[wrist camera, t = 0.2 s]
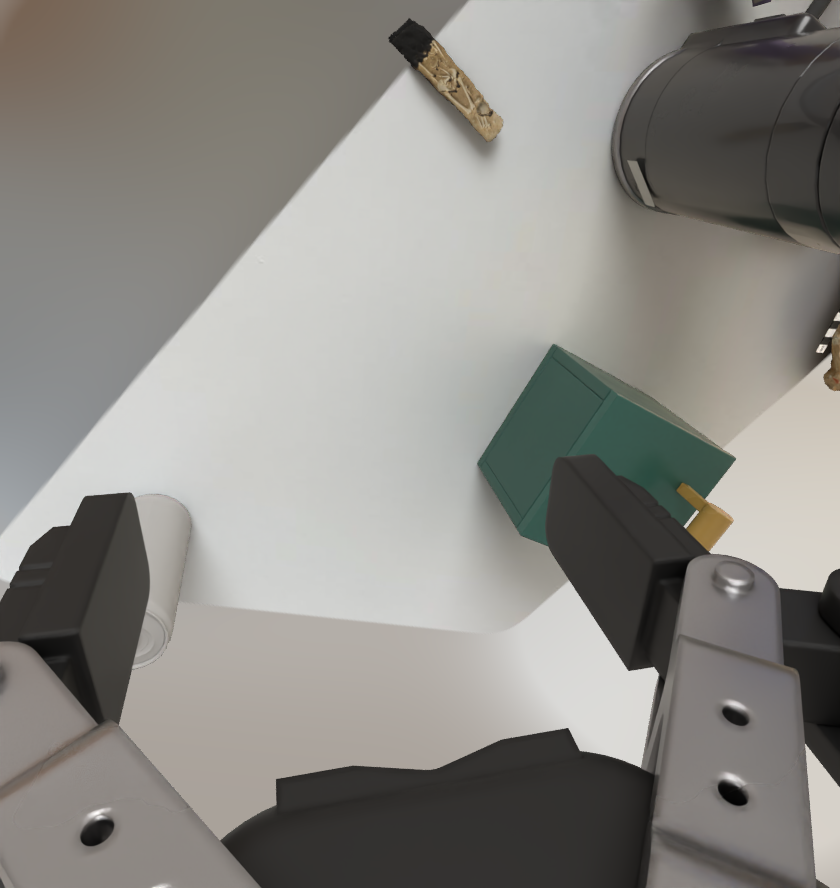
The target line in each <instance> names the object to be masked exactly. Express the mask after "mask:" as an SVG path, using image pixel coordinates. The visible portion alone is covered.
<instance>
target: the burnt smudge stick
mask: <svg viewBox="0 0 840 888" xmlns="http://www.w3.org/2000/svg"><path fill="white" fill-rule="evenodd" d="M388 39H389V42H390V43H392V44H393V45H394V46H395V47H396V49H398V51H399V52H400V53H401V54H404V58H405V59H407V61H408V62H410V63H411V66H412V67H413V68H414V69H415V70H419V71H420V72H421V73H422V74H423V75H424V76H425V77H426V79H427V80H429V82H430V83H431V84H432V85H433V86H434V87H435V88H436V90H437V91H438V92H439V93H440V94H441V95H443V96H444V97H445V98H446V99H447V100H448V101H450V102H451V103H452V104H453V105H455V106H456V108H457V110H459V111H460V112H462V113H463V114H464V116H465V118H466V119H468V120H469V122H470V123H471V125H472V126H473V127H474V128H475V130H476V131H478V132H479V133H480V134H481V136H483V137H484V139H485V140H486V142H491V141H492V140H493V139H494V138H495V137H496V135H497V134H498V133H499V132H500V130H501V128H502V126H503V124H502V122H503V120H502V118H501V117H500V116H498V115H497V114H496V112H494V111H493V110H492V109H490V108H489V105H488V103H487V102H486V101H485V100H484V99H483V95H481V93H480V92H479V91H478V90H477V89H476V88H475V86H474V84H473V83H472V82H471V80H470V79H469V78H468V77H467V76H466V75H465V74H464V72H463V71H462V70H461V69H459V68H458V67H457V66H456V65H455V63H454V62H453V60H452V59H451V58H450V57H449V56H448V55H447V53H446V51H445V50H444V48H443V47H442V46H441V45H440V44H439V43H438V42H437V41H436V40H435V39H434V38H433V37H432V36H431V34H430V33H429V32H428V31H427V30H426V29H425V28H424V27H423V26H421V25H418V24H417V23H416V22H415V21H412V20H411V19H410V18H409V19H408V20H407V21H406V22H405V23H404V24H403V25H402V26H401V27H400V28H398V30H397V31H395V32H393V34H391V35H390V37H389V38H388Z"/></svg>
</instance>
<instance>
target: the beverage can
mask: <svg viewBox="0 0 840 888" xmlns="http://www.w3.org/2000/svg"><path fill="white" fill-rule="evenodd" d="M134 499H135V502H136V506H137V510H138V515H139V520H140V525H141V529H142V534H143V539H144V544H145V549H146V553H147V558H148V563H149V571H150V593H149V599H148V603H147V608H146V612H145V616H144V620H143V625H142V629H141V633H140V637H139V641H138V646H137V650H136V654H135V658H134V663H133V667H132V670H134V669H138V668H141V667H145V666H147V665H149V664H151V663H153V662H154V661H156V660H157V659H158V658H159V657H160V656H162V654H163V653H164V651H165V649H166V648H167V644H168V643H169V641H170V639H171V635H172V632H173V627H174V622H175V616H176V610H177V605H178V599H179V594H180V588H181V582H182V577H183V571H184V565H185V560H186V554H187V548H188V543H189V537H190V531H191V518H190V515H189V513H188V511H187V509H186V508H185V507H184V506H183V504H181V503H180V502H178V501H177V500H175V499H173V498H170V497H168V496H165V495H159V494H149V495H142V496H138V497H136V498H134Z"/></svg>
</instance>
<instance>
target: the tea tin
mask: <svg viewBox="0 0 840 888" xmlns="http://www.w3.org/2000/svg"><path fill="white" fill-rule="evenodd" d="M611 390H613V391H615V392H617V393H619V394H621V395H622V396H624V397H626V398H628V399H630V400H632V401H634V402H635V403H637V404H639V405H641V406H643V407H645V408H647V409H648V410H650V411H652V412H654V413H656V414H658V415H660V416H661V417H663V418H665V419H667V420H669V421H671V422H672V423H674V424H676V425H678V426H680V427H682V428H684V429H685V430H687V431H689V432H691V433H693V434H695V435H697V436H698V437H700V438H702V439H704V440H706V441H708V442H710V443H711V444H713V445H715V446H717V445H716V444H715V443H713V442H712V441H711V440H709V439H708V438H707V437H705V436H704V435H702V434H701V433H700V432H698V431H697V430H696V429H694V428H693V427H691V426H690V425H689V424H687V423H686V422H685V421H683V420H682V419H681V418H679V417H678V416H676V415H675V414H674V413H672V412H671V411H670V410H668V409H667V408H666V407H664V406H663V405H661V404H660V403H659V402H657V401H656V400H655V399H653V398H652V397H650V396H648V395H646V394H644V393H642V392H641V391H639V390H637V389H635V388H633V387H632V386H630V385H628V384H626V383H624V382H623V381H621V380H619V379H617V378H615V377H613V376H612V375H610V374H608V373H606V372H604V371H603V370H601V369H599V368H597V367H595V366H594V365H592V364H590V363H588V362H586V361H584V360H583V359H581V358H579V357H577V356H575V355H574V354H572V353H570V352H568V351H566V350H564V349H563V348H561V347H559V346H557V345H555V344H553V345H552V347H551V348H550V350H549V351H548V353H547V355H546V356H545V358H544V359H543V361H542V362H541V364H540V365H539V367H538V369H537V370H536V372H535V373H534V375H533V376H532V378H531V380H530V381H529V383H528V384H527V386H526V387H525V389H524V391H523V392H522V394H521V395H520V397H519V398H518V400H517V402H516V403H515V405H514V406H513V408H512V409H511V411H510V413H509V414H508V416H507V417H506V419H505V420H504V422H503V424H502V425H501V427H500V428H499V430H498V431H497V433H496V435H495V436H494V438H493V439H492V441H491V442H490V444H489V446H488V447H487V449H486V450H485V452H484V453H483V455H482V457H481V458H480V460H479V461H478V463H477V464H478V466H479V468H480V469H481V471H482V473H483V474H484V476H485V478H486V479H487V481H488V482H489V484H490V486H491V487H492V489H493V491H494V492H495V494H496V496H497V497H498V499H499V501H500V502H501V504H502V505H503V507H504V509H505V510H506V512H507V514H508V515H509V517H510V519H511V520H512V522H513V524H514V525H515V527H516V528H517V527H518V526H519V525H520V523H521V522H522V520H523V519H524V517H525V516H526V514H527V513H528V511H529V510H530V508H531V507H532V506H533V504H534V503H535V501H536V500H537V498H538V497H539V495H540V494H541V492H542V491H543V490H544V488H545V487H546V485H547V484H548V482H549V481H550V479H551V476H552V469H553V465H554V462H555V460H556V459H557V458H558V457H564V456H567V454H568V453H569V452H570V450H571V449H572V447H573V446H574V444H575V443H576V441H577V440H578V438H579V437H580V436H581V434H582V433H583V431H584V430H585V428H586V427H587V425H588V424H589V422H590V421H591V419H592V418H593V417H594V415H595V414H596V412H597V411H598V409H599V408H600V406H601V405H602V403H603V402H604V401H605V399H606V398H607V396H608V395H609V393H610V392H611ZM717 447H719V446H717ZM719 448H720V447H719ZM721 449H722V448H721Z"/></svg>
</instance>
